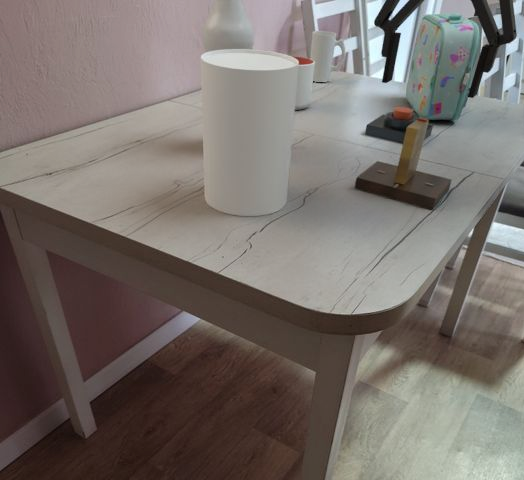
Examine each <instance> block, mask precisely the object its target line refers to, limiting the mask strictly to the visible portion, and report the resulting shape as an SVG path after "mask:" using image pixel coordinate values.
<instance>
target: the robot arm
mask: <svg viewBox="0 0 524 480" xmlns="http://www.w3.org/2000/svg"><path fill="white" fill-rule="evenodd" d="M400 1H401V0H385V1H384V3H383V5H382V6H381V8H380V10H379V11H378V13H377V15H376V17H375V19H374V21H373V24H374V26H375V27H377V28H380V29H381V30H382V31H383V33H384V34H383V35H384V36H383V41H382V46H381V51H380V52H381V53H380V55H381V58H385V63H384V69H383V75H382V79H381V83H384V84H388V83H389V82H391V81H393V78H394V72H395V67H396V61H397V56H398V52H399V46H400V40H401V36H402V32H396V31H398V29H399V28H400V27H401V26H402V24H404V23H405V21H406V20H407V19H408V18H409V17H410V16H411V15H412V14H413V13H414V12H415V11H416V10H417V9H418V8H419V7H420V6H421V5H422V3H423V2H424V1H425V0H407V2H406V3H405V4H404V5H403V6H402V7H401V8H400V9H399V10H398V11H397V12H396V14H395V15H394V16H393V17H392V18H391V16H392V14H394V11H395V9H396V8H397V6H398V5H399V2H400ZM470 1H471V3H472V6H473V8H474V11H475V13H476V16H477V19H478V21H479V23H480V26H481V28H482V30H483V33H484V36H485V38H486V41H487V43H486V44H484V45H483V46H482V47H481V50H480V53H479V57H478V61H477V62H476V63H477V64H476V67H475V71H474V74H473V76H472V79H471V83H470V86H469V88H470V91H469V94H468V98H470V99H474V98H475V97H476V96H477V95H478V92H479V89H480V85H481V82H482V78H483V75H484V73H490V72H491V71H492V69H493V68H494V65H495V62H496V58H497V55H498V51H499V50H500V49H499V48H500V47H501V46H503V45H507V44H511V43H512V42H514V41H515V40H516V39H517V36H518V35H517V34H518V32H517V26H516V25H517V24H516V16H515V7H514V0H498V2H499V10H500V18H501V27H502V34H501V33H500V30H499V28H498V25H497V22H496V20H495V18H494V15H493V13H492V10H491V7H490V5H489V2H488V0H470ZM390 18H391V19H390Z"/></svg>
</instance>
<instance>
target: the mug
mask: <svg viewBox="0 0 524 480" xmlns="http://www.w3.org/2000/svg"><path fill="white" fill-rule="evenodd" d="M311 32H312V36H311V44H310V46H311V47H310V56H309V57H310V58H309V59H311V60H313V61H314V62H315V65H314V75H313V81H315V82H314V83H316V82H327V81H329V80H330V81H331V73H333V72H337V73H338V72H339V71H340V69H341V67H342V65H343V63H344V62H345V58H346V45H345V42H344V39H338V40H337V33H336V32H333V31H327V30H314V31H311ZM336 46H338V47H339V48H340V50H341V57H340V59H339V62H338V63H337V64H336V65H334V64H333V60H334V53H335V47H336ZM330 81H329V82H330ZM327 83H328V82H327Z"/></svg>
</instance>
